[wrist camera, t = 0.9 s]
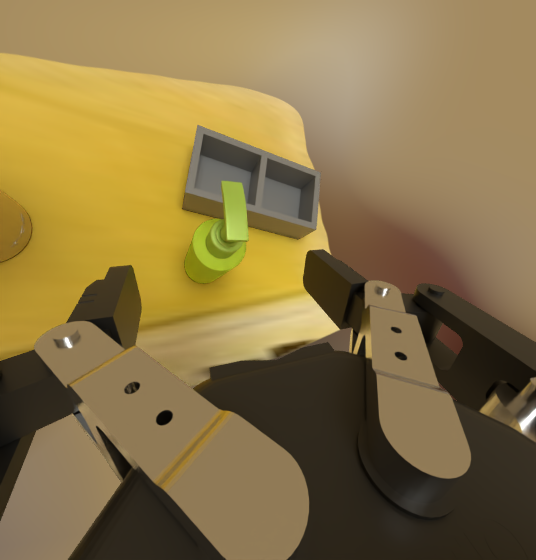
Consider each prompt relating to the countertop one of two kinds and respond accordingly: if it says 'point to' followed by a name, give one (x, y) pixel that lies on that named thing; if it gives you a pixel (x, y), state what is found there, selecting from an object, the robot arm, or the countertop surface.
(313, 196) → the caddy
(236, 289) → the countertop surface
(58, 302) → the countertop surface
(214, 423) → the robot arm
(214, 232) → the soap dispenser
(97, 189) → the countertop surface
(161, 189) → the countertop surface
